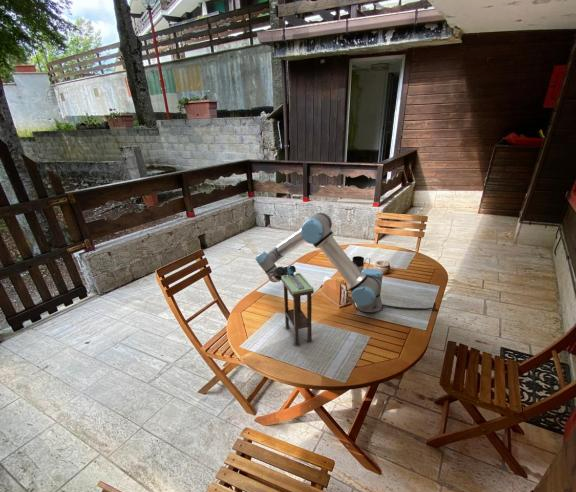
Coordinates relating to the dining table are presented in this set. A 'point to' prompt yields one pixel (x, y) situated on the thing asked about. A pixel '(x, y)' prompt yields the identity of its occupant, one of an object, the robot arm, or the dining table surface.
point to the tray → (293, 287)
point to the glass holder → (359, 262)
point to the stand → (298, 313)
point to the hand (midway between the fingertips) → (289, 268)
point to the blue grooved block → (294, 279)
